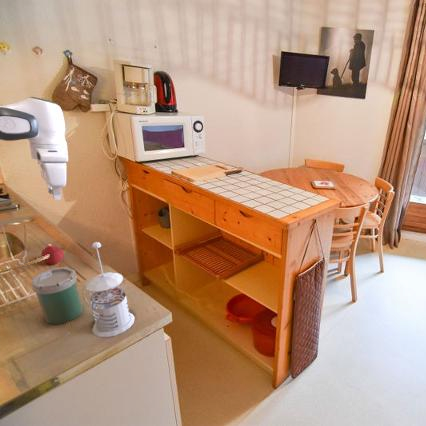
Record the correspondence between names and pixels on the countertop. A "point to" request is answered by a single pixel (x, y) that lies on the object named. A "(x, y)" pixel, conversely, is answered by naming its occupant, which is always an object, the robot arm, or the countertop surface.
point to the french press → (108, 303)
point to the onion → (53, 254)
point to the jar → (58, 295)
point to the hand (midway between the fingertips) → (54, 196)
